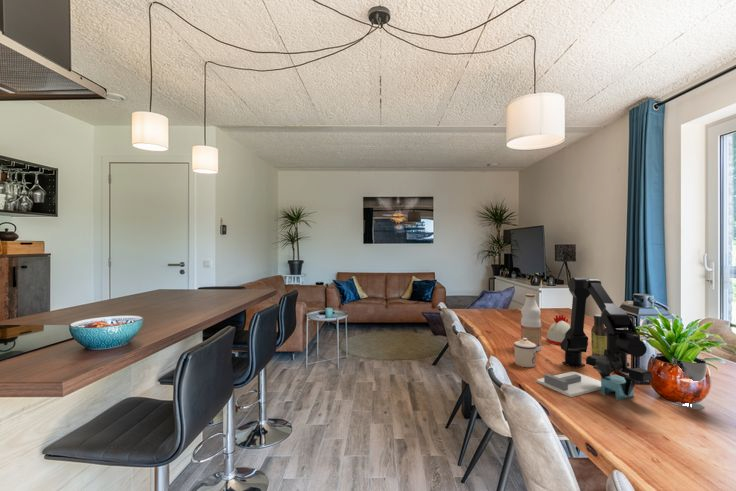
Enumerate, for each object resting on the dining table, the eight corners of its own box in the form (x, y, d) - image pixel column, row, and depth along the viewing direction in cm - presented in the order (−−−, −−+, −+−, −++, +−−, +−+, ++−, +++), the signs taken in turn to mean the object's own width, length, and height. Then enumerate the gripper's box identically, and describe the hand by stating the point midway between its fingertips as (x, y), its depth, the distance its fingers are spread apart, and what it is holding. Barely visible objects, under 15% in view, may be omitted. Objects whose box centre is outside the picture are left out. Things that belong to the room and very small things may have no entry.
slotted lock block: (615, 389, 121) (615, 374, 121) (633, 396, 115) (633, 380, 115) (601, 393, 118) (601, 377, 118) (619, 400, 112) (619, 384, 112)
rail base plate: (573, 373, 135) (573, 364, 135) (609, 386, 123) (609, 376, 123) (536, 382, 127) (536, 371, 127) (571, 397, 114) (571, 385, 114)
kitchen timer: (541, 339, 186) (541, 312, 186) (563, 338, 188) (563, 312, 188) (558, 346, 172) (558, 318, 173) (582, 345, 174) (582, 317, 174)
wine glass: (700, 412, 103) (700, 364, 104) (668, 401, 111) (668, 357, 111) (710, 406, 107) (710, 360, 107) (679, 396, 114) (678, 353, 114)
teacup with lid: (537, 369, 141) (537, 342, 141) (514, 366, 144) (513, 339, 144) (535, 360, 152) (535, 335, 152) (514, 357, 155) (513, 333, 155)
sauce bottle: (594, 353, 160) (593, 313, 160) (609, 357, 155) (609, 315, 155) (589, 356, 156) (589, 314, 156) (605, 360, 151) (604, 317, 151)
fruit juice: (529, 352, 163) (529, 296, 163) (517, 346, 172) (516, 293, 172) (545, 350, 165) (545, 295, 165) (532, 345, 174) (532, 292, 174)
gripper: (575, 343, 122) (576, 385, 122) (632, 359, 105) (633, 407, 105) (595, 339, 126) (595, 380, 126) (653, 354, 109) (653, 401, 109)
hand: (617, 391), depth 116 cm, fingers open, 6 cm apart
